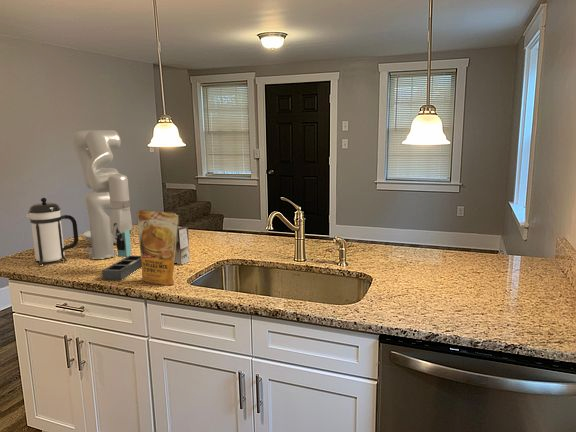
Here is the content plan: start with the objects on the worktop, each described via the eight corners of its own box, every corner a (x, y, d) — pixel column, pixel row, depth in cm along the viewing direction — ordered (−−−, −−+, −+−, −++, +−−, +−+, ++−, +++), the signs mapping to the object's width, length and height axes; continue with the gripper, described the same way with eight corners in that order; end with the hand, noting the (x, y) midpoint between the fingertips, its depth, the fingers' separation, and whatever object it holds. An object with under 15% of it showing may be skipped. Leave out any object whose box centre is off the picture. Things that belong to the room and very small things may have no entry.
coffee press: (55, 267, 197) (48, 200, 192) (24, 266, 200) (16, 199, 195) (81, 257, 214) (74, 194, 208) (52, 255, 217) (45, 194, 211)
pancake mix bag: (147, 275, 183) (142, 208, 178) (184, 282, 175) (180, 211, 170) (135, 280, 177) (129, 211, 172) (172, 287, 169) (168, 214, 164)
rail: (102, 279, 179) (101, 269, 178) (129, 264, 200) (128, 255, 200) (121, 280, 178) (120, 270, 177) (146, 264, 199) (145, 255, 199)
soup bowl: (72, 248, 231) (70, 235, 230) (103, 237, 254) (102, 226, 252) (111, 251, 224) (110, 238, 223) (140, 240, 247) (139, 228, 246)
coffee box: (191, 261, 203) (189, 227, 200) (181, 265, 197) (179, 229, 194) (175, 259, 207) (173, 225, 204) (165, 262, 202) (163, 228, 199)
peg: (117, 256, 186) (115, 231, 184) (122, 254, 190) (120, 229, 188) (126, 257, 185) (124, 231, 183) (131, 254, 189) (129, 229, 187)
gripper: (122, 202, 193) (125, 243, 196) (100, 208, 176) (104, 253, 179) (138, 202, 192) (141, 243, 195) (118, 208, 175) (122, 253, 178)
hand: (124, 248), depth 187 cm, fingers closed on peg, 4 cm apart
